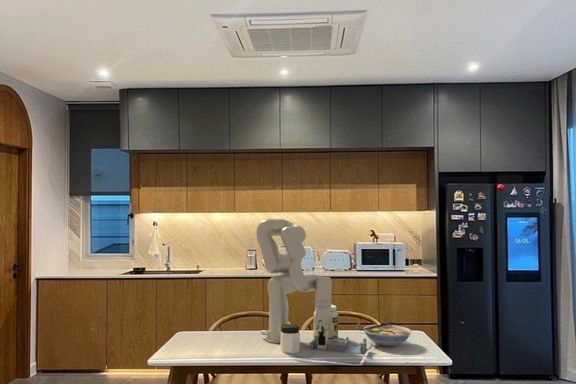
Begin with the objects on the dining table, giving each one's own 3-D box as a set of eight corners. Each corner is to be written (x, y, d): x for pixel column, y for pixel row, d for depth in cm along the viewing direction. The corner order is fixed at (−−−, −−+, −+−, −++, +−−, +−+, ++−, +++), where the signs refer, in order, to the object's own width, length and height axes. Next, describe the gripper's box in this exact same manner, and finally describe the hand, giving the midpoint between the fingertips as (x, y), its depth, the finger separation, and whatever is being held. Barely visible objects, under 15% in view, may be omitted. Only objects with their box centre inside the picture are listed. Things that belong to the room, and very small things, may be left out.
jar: (277, 354, 222) (277, 326, 222) (283, 349, 229) (283, 323, 230) (296, 356, 219) (297, 328, 220) (301, 351, 227) (302, 324, 227)
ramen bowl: (389, 354, 223) (389, 336, 224) (351, 344, 241) (351, 327, 241) (423, 346, 239) (422, 328, 240) (385, 336, 257) (385, 320, 257)
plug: (317, 348, 229) (317, 330, 230) (319, 345, 233) (319, 328, 233) (326, 348, 228) (326, 331, 228) (328, 346, 232) (328, 329, 232)
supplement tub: (337, 344, 241) (337, 308, 242) (311, 342, 243) (312, 307, 244) (338, 338, 253) (339, 304, 254) (314, 336, 255) (315, 303, 256)
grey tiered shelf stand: (310, 351, 227) (310, 339, 227) (315, 346, 237) (315, 334, 237) (363, 356, 220) (363, 343, 220) (366, 350, 230) (366, 338, 230)
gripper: (319, 300, 241) (319, 339, 240) (310, 306, 225) (310, 347, 224) (334, 301, 238) (334, 340, 237) (327, 307, 222) (326, 349, 222)
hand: (322, 343), depth 231 cm, fingers closed on plug, 4 cm apart
